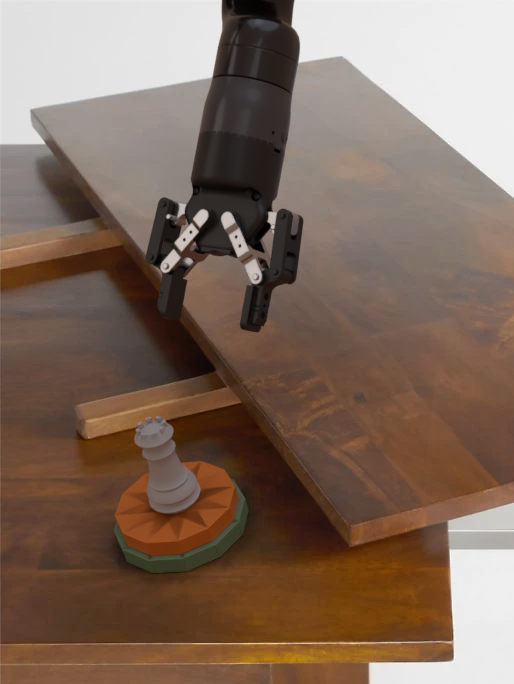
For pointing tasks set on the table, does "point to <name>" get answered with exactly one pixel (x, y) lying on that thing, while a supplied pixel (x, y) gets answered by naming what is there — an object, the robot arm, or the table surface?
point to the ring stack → (181, 523)
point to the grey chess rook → (165, 469)
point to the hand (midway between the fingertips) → (208, 324)
